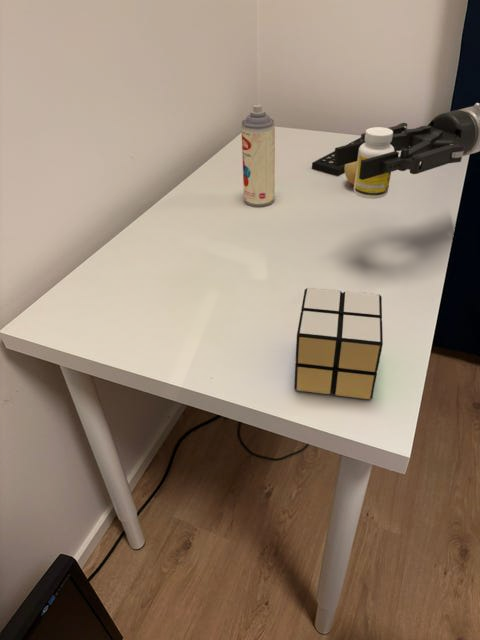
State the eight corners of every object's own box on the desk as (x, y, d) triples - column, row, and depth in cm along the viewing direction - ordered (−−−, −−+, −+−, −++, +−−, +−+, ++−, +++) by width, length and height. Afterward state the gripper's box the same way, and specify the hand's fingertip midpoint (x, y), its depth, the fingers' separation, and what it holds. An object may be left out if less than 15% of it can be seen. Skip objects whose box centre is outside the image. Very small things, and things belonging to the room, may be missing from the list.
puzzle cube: (301, 341, 71) (304, 286, 65) (371, 349, 70) (381, 292, 63) (293, 391, 64) (296, 334, 57) (371, 401, 62) (383, 343, 56)
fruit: (376, 179, 114) (381, 145, 109) (376, 194, 108) (381, 159, 103) (343, 177, 116) (347, 143, 111) (341, 192, 109) (345, 157, 104)
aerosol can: (241, 195, 110) (237, 102, 97) (270, 192, 111) (270, 99, 98) (247, 208, 105) (243, 112, 92) (277, 205, 106) (278, 109, 93)
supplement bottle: (391, 199, 76) (401, 136, 70) (356, 200, 76) (364, 137, 70) (383, 185, 80) (393, 124, 74) (350, 186, 81) (357, 125, 74)
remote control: (402, 138, 134) (404, 131, 133) (337, 176, 116) (338, 168, 115) (378, 133, 138) (379, 126, 137) (311, 168, 120) (312, 160, 119)
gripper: (422, 97, 85) (313, 122, 77) (514, 124, 72) (395, 158, 64) (414, 140, 90) (311, 168, 82) (499, 173, 77) (386, 210, 69)
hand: (348, 163), depth 73 cm, fingers closed on supplement bottle, 5 cm apart
